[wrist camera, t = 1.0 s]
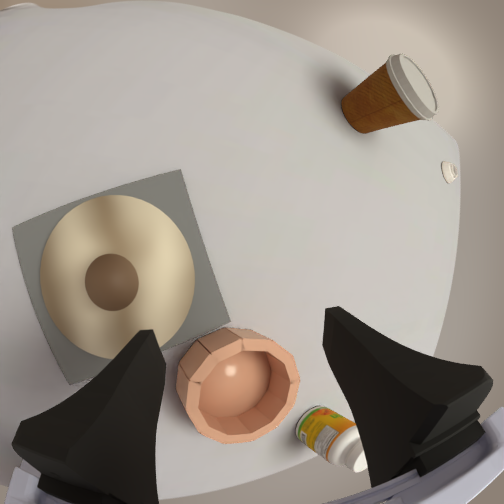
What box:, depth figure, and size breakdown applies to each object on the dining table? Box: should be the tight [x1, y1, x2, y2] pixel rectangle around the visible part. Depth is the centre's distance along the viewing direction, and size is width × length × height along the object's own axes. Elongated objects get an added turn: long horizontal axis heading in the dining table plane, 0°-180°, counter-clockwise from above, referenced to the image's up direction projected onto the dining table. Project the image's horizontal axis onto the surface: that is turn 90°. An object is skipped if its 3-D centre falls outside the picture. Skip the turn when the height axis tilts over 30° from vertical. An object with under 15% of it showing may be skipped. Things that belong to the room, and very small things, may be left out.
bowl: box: [176, 327, 300, 444], centre depth 22 cm, size 10×10×4 cm
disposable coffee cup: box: [341, 54, 439, 133], centre depth 28 cm, size 10×10×12 cm
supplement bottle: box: [296, 406, 368, 472], centre depth 24 cm, size 5×5×10 cm
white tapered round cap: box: [442, 161, 458, 183], centre depth 46 cm, size 5×3×5 cm
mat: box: [12, 169, 231, 385], centre depth 20 cm, size 16×14×1 cm
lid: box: [40, 195, 195, 359], centre depth 17 cm, size 13×13×5 cm
